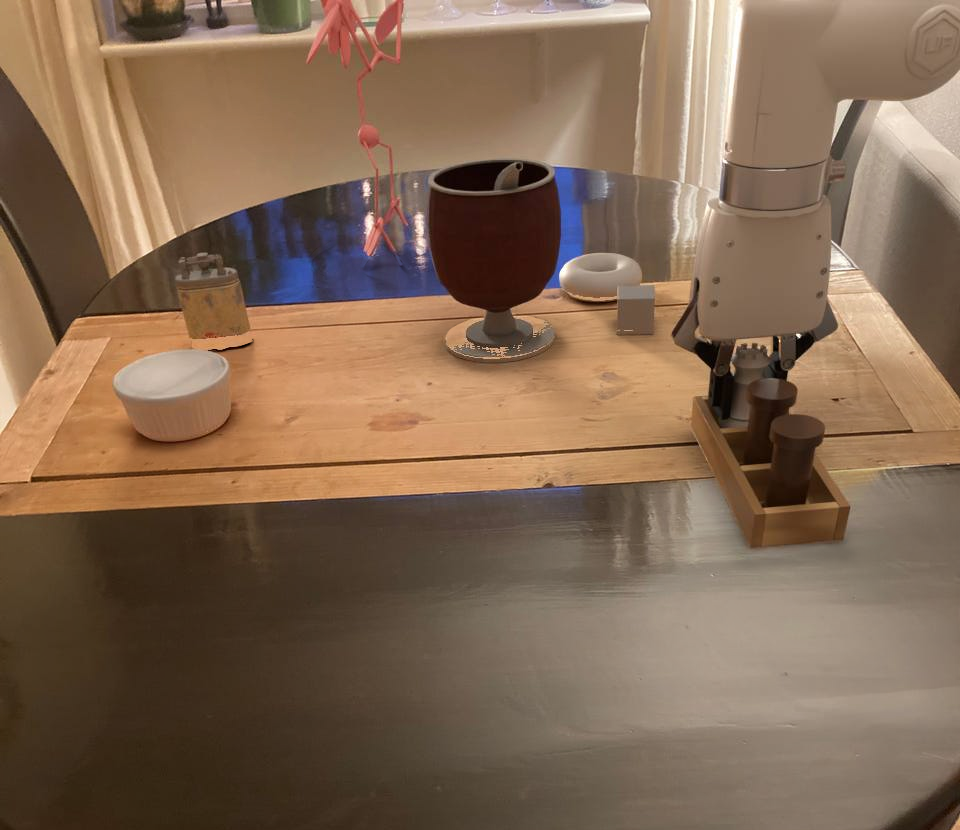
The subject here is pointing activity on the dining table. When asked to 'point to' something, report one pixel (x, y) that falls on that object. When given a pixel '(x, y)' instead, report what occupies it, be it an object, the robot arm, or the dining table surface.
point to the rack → (749, 488)
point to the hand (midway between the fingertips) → (744, 408)
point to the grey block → (635, 309)
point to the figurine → (338, 27)
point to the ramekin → (176, 394)
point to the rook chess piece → (744, 382)
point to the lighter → (211, 298)
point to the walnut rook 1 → (765, 416)
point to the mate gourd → (495, 247)
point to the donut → (599, 275)
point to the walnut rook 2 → (792, 458)
